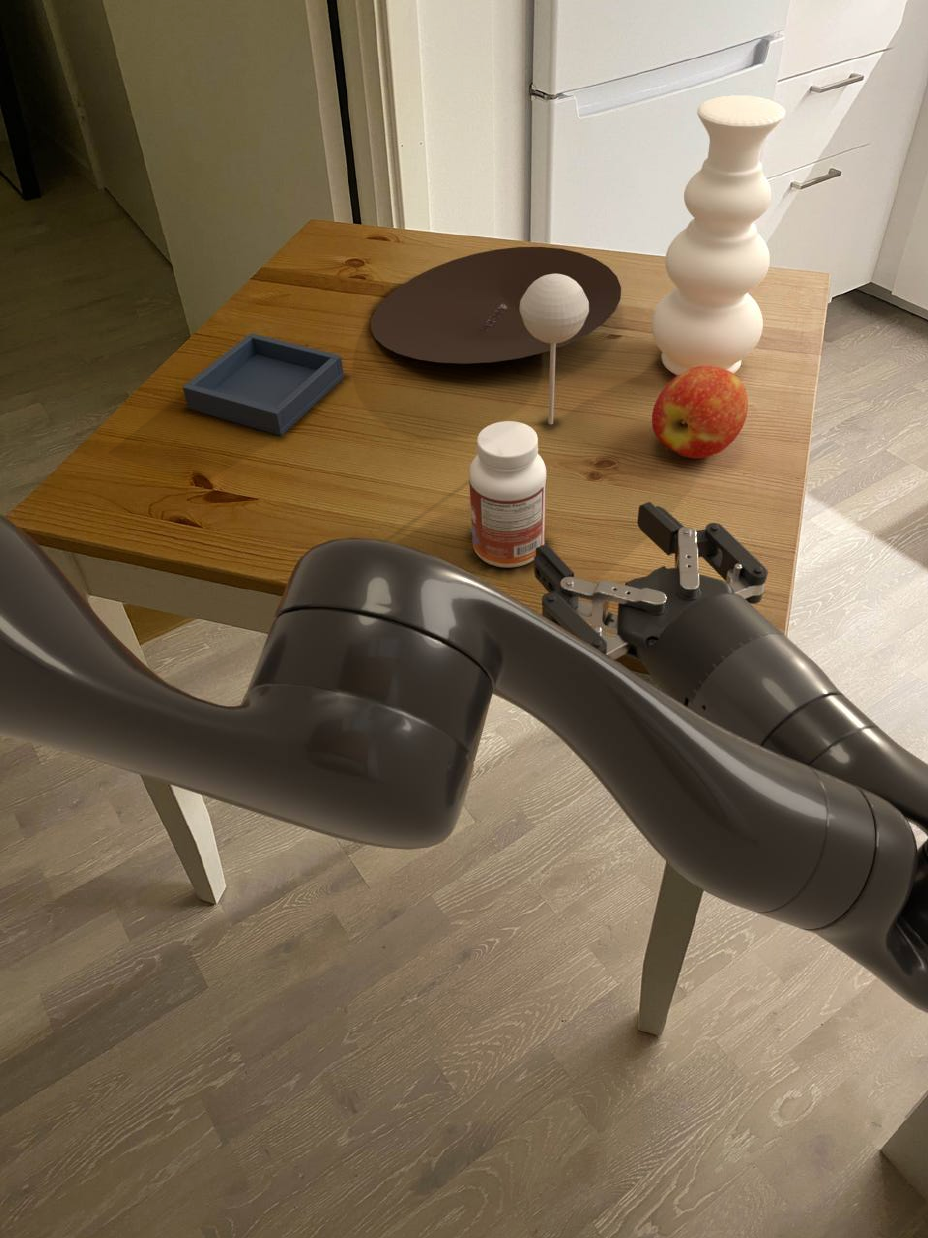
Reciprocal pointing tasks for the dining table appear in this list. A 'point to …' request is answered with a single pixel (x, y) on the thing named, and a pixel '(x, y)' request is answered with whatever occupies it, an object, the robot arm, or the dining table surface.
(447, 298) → the plate
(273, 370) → the tray
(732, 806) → the robot arm
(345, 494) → the dining table surface
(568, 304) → the lollipop
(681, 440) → the apple
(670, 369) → the vase
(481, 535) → the pill bottle
